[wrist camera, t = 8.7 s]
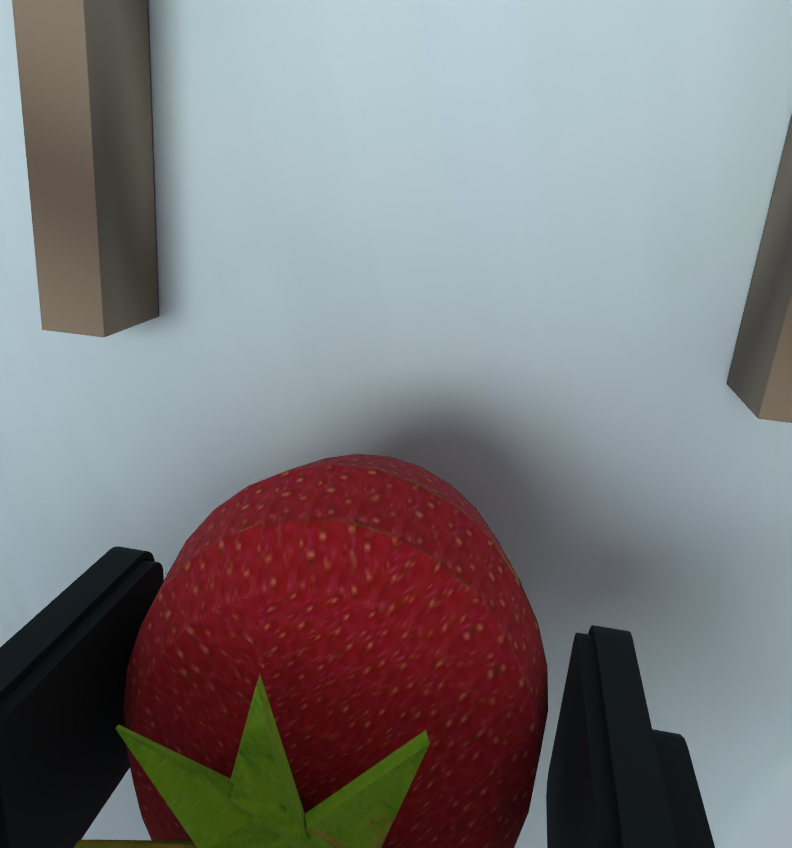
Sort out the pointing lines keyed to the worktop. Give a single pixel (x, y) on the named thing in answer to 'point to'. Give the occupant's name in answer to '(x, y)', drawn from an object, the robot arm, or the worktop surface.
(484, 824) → the strawberry
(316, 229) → the worktop surface
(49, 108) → the frame
